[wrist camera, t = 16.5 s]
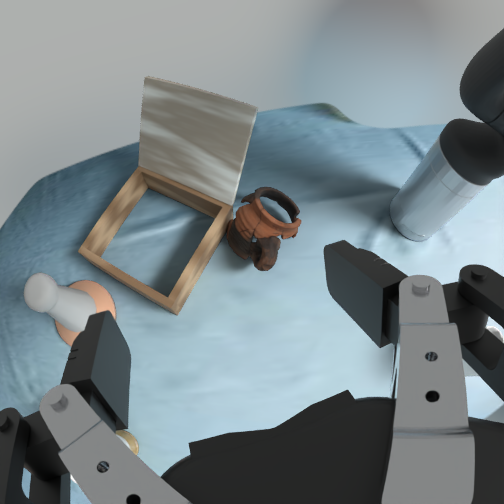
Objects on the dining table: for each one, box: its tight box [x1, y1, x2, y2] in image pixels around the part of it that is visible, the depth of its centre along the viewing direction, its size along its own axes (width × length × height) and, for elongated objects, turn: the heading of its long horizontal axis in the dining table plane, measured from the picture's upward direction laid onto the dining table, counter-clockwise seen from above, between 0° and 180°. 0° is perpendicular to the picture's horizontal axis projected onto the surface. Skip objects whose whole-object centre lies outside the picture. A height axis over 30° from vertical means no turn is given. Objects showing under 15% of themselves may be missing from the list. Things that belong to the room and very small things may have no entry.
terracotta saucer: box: [55, 280, 116, 346], centre depth 40 cm, size 10×10×1 cm
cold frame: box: [78, 76, 258, 315], centre depth 38 cm, size 22×16×17 cm
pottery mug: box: [227, 187, 301, 271], centre depth 43 cm, size 12×10×8 cm
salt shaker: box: [24, 272, 97, 332], centre depth 33 cm, size 6×6×13 cm
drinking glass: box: [462, 326, 504, 376], centre depth 35 cm, size 7×7×10 cm
